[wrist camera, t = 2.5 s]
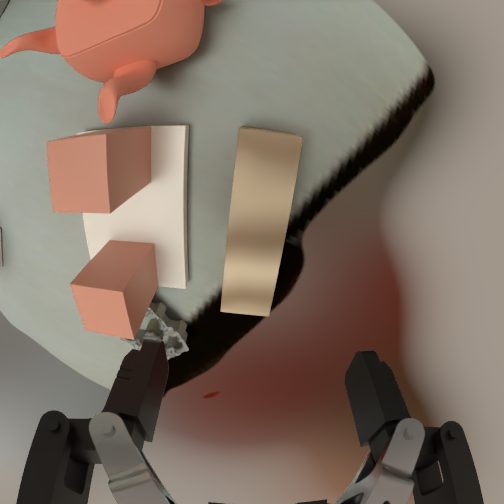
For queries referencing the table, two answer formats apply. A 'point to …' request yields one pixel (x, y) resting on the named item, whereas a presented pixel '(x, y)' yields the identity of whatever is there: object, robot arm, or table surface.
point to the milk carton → (0, 251)
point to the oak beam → (258, 218)
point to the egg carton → (162, 331)
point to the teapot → (119, 41)
